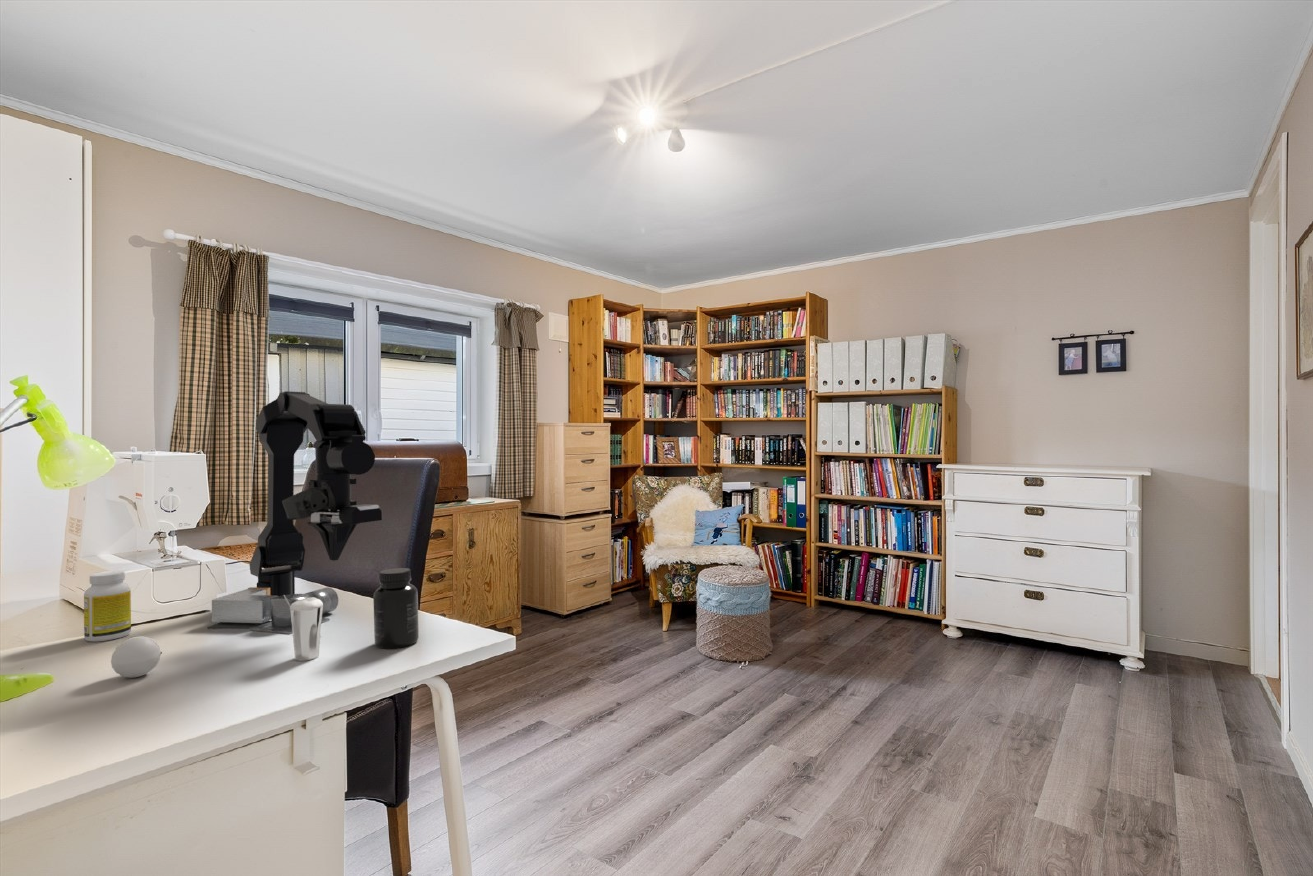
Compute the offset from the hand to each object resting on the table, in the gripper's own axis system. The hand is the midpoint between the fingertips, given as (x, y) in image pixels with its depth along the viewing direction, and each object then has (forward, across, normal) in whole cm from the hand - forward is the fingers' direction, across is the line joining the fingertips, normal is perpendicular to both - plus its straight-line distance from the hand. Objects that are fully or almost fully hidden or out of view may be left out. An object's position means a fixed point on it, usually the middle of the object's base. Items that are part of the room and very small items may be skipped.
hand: (334, 560), depth 117 cm
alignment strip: (+12, -17, -6) cm, 22 cm away
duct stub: (+12, -9, 0) cm, 15 cm away
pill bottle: (+12, -31, -21) cm, 39 cm away
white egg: (+12, -5, -28) cm, 31 cm away
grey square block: (+11, -18, -3) cm, 22 cm away
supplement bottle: (+12, +18, -2) cm, 22 cm away
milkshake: (+12, +10, -13) cm, 21 cm away
